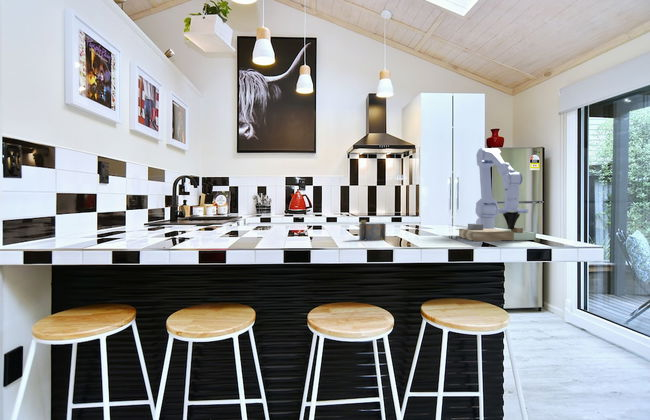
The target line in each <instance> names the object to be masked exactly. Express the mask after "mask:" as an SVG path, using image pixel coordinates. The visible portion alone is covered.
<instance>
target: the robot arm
mask: <svg viewBox="0 0 650 420" xmlns="http://www.w3.org/2000/svg"><path fill="white" fill-rule="evenodd" d="M476 165H477V166H478V167H479V168H478V170H479V182H480V198H479V199H478V200H476V201H477V202H476V203H475V214H476V216H477V217H478V218H477V219H476V222H475V224H483V229H495V223H496V222H495V219H496V218H497V216H498V215H499V214H502V216H503V217H504V219H505V222H506V225H507V230H511V229H514V227H516V223H517V221H518V219H519V218H520V216H521V214H529V208H519V207H520V204H519V203H520V185H521V184H522V183H523V175H522V173H521V172H520V171H519V172H518V171H515V169H514V168H513V167H512V166H511V164H510V163H509V162H506V161H504V159H503V157H502V151H501V150H500V149H499V148H498V147H496V148H482V147H480V148H479V149H478V150H477V152H476ZM493 166H496V167H497V168H496V171H497V172H498V174H499V175H500V177H501V178H502V179H501V180H502V184H503V189H504V205H503V206H504V207H503V208H500V207H499V205H498V201H497V200H496V199H494V197H493V192H492V190H493V189H492V177H491V175H492V174H491V168H492V167H493Z"/></svg>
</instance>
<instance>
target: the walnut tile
mask: <svg viewBox="0 0 650 420" xmlns="http://www.w3.org/2000/svg"><path fill="white" fill-rule="evenodd" d="M510 230H511V231H512V232H514V233H523V231H524V228H523V227H520V226H519V227H518V226H514V229H510Z"/></svg>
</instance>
